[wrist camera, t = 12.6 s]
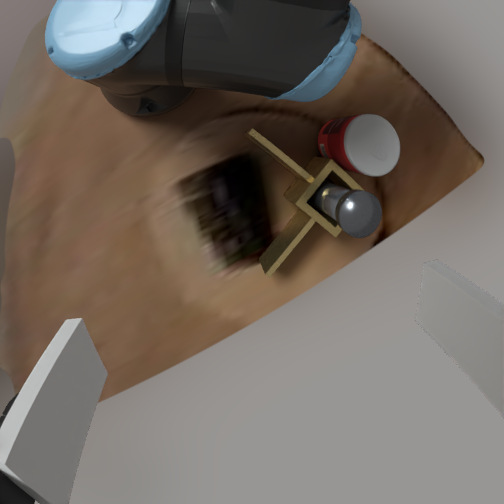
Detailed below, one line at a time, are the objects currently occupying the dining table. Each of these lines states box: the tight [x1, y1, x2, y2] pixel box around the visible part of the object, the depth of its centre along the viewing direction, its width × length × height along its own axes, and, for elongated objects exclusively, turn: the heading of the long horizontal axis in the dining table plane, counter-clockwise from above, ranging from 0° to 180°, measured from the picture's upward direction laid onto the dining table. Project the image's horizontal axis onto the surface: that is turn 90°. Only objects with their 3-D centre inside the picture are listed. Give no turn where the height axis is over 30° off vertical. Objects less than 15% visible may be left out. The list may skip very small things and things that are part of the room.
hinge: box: [244, 128, 364, 278], centre depth 41 cm, size 18×18×7 cm
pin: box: [308, 181, 382, 238], centre depth 37 cm, size 5×5×16 cm
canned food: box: [318, 114, 400, 176], centre depth 37 cm, size 8×8×11 cm
